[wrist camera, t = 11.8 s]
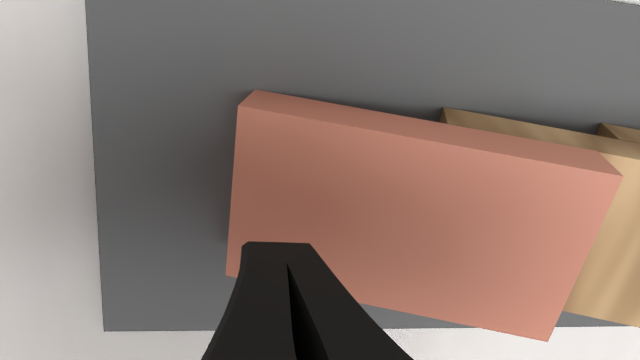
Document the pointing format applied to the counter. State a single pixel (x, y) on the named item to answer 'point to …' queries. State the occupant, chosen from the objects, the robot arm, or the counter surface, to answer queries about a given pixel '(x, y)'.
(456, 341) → the counter surface
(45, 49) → the counter surface
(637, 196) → the domino
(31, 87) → the counter surface
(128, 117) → the domino mat
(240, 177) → the domino
